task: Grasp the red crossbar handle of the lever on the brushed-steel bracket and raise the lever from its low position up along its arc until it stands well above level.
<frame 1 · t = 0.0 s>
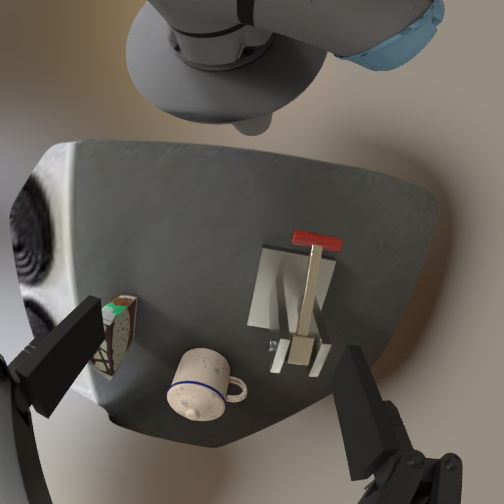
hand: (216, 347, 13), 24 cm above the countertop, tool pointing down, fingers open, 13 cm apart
lever: (308, 298, 27), point 11 cm above the countertop, hinge at -25.0°
teacup with lid: (214, 366, 44), on the countertop
bracket: (289, 290, 39), on the countertop
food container: (120, 312, 42), on the countertop
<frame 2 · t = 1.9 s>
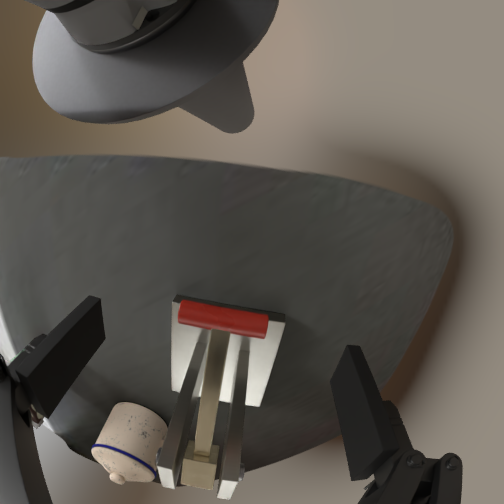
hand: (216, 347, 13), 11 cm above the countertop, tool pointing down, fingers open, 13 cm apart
lever: (208, 408, 15), point 11 cm above the countertop, hinge at -25.0°
teacup with lid: (150, 420, 32), on the countertop
bracket: (222, 353, 27), on the countertop
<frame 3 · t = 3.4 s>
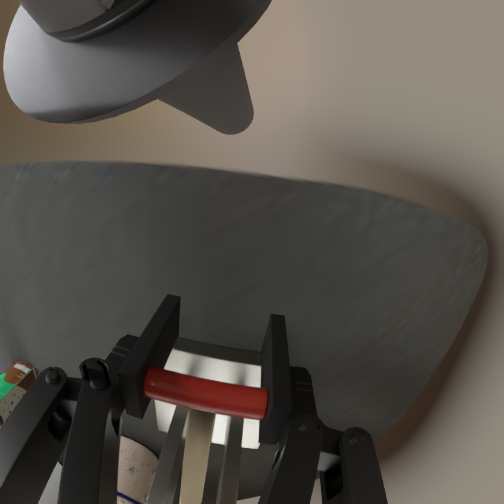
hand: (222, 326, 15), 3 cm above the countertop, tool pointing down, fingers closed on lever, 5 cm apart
lever: (192, 486, 10), point 11 cm above the countertop, hinge at -25.0°, touching gripper
teacup with lid: (139, 451, 27), on the countertop
bracket: (214, 396, 21), on the countertop
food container: (26, 377, 24), on the countertop
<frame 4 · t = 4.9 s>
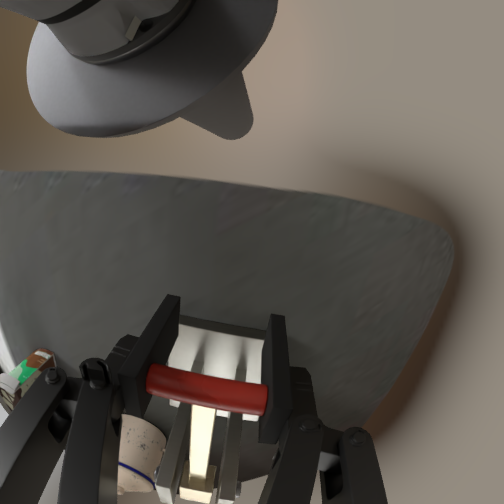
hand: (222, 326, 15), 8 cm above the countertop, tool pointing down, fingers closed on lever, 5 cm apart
lever: (200, 453, 12), point 13 cm above the countertop, hinge at -1.2°, touching gripper
teacup with lid: (148, 432, 32), on the countertop
bracket: (219, 370, 26), on the countertop
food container: (44, 365, 29), on the countertop
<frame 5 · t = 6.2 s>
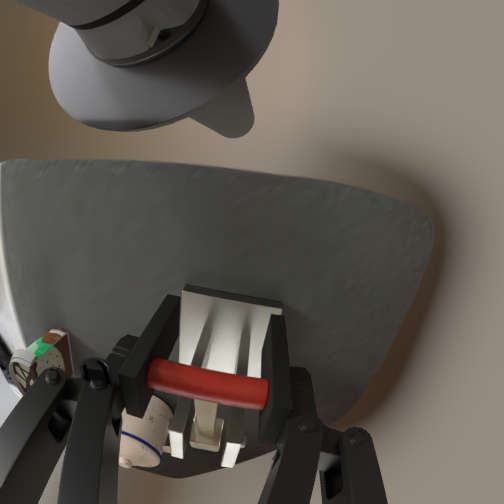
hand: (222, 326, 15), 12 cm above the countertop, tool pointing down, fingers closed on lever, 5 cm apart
lever: (206, 418, 14), point 15 cm above the countertop, hinge at 20.6°, touching gripper
teacup with lid: (156, 408, 35), on the countertop
bracket: (226, 339, 30), on the countertop
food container: (57, 344, 33), on the countertop
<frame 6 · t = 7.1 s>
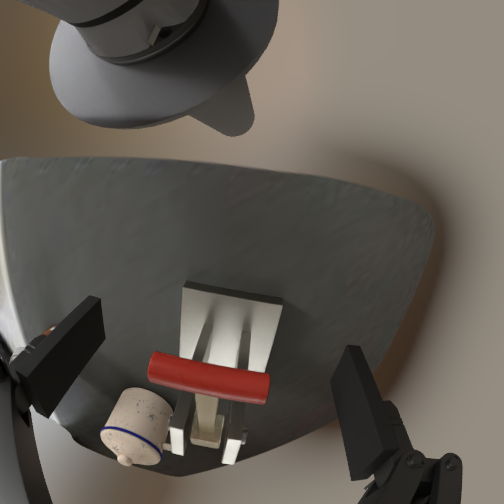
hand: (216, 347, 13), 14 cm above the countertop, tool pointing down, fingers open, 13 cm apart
lever: (207, 414, 14), point 15 cm above the countertop, hinge at 20.6°
teacup with lid: (156, 406, 36), on the countertop
bracket: (226, 336, 30), on the countertop
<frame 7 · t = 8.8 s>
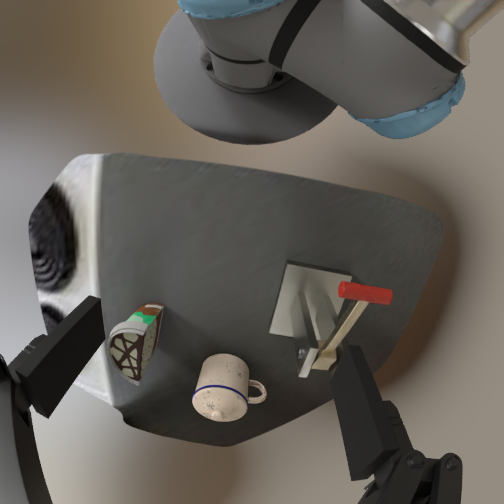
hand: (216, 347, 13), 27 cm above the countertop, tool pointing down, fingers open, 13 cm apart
lever: (340, 331, 26), point 15 cm above the countertop, hinge at 20.6°
teacup with lid: (233, 370, 48), on the countertop
bracket: (308, 301, 42), on the countertop
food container: (144, 319, 45), on the countertop
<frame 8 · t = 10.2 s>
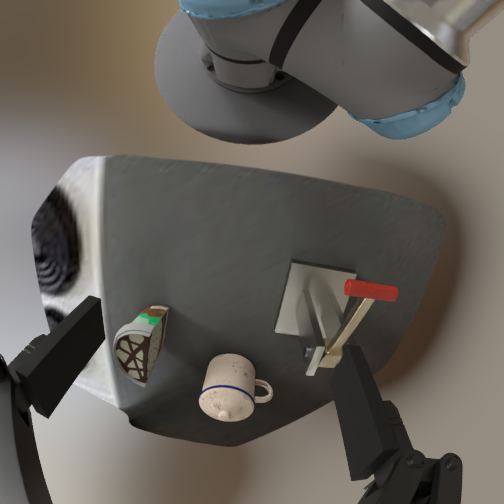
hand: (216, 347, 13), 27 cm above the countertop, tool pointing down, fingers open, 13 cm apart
lever: (347, 328, 26), point 15 cm above the countertop, hinge at 20.6°
teacup with lid: (239, 369, 48), on the countertop
bracket: (313, 300, 42), on the countertop
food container: (149, 321, 45), on the countertop
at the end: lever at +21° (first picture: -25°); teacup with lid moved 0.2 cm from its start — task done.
